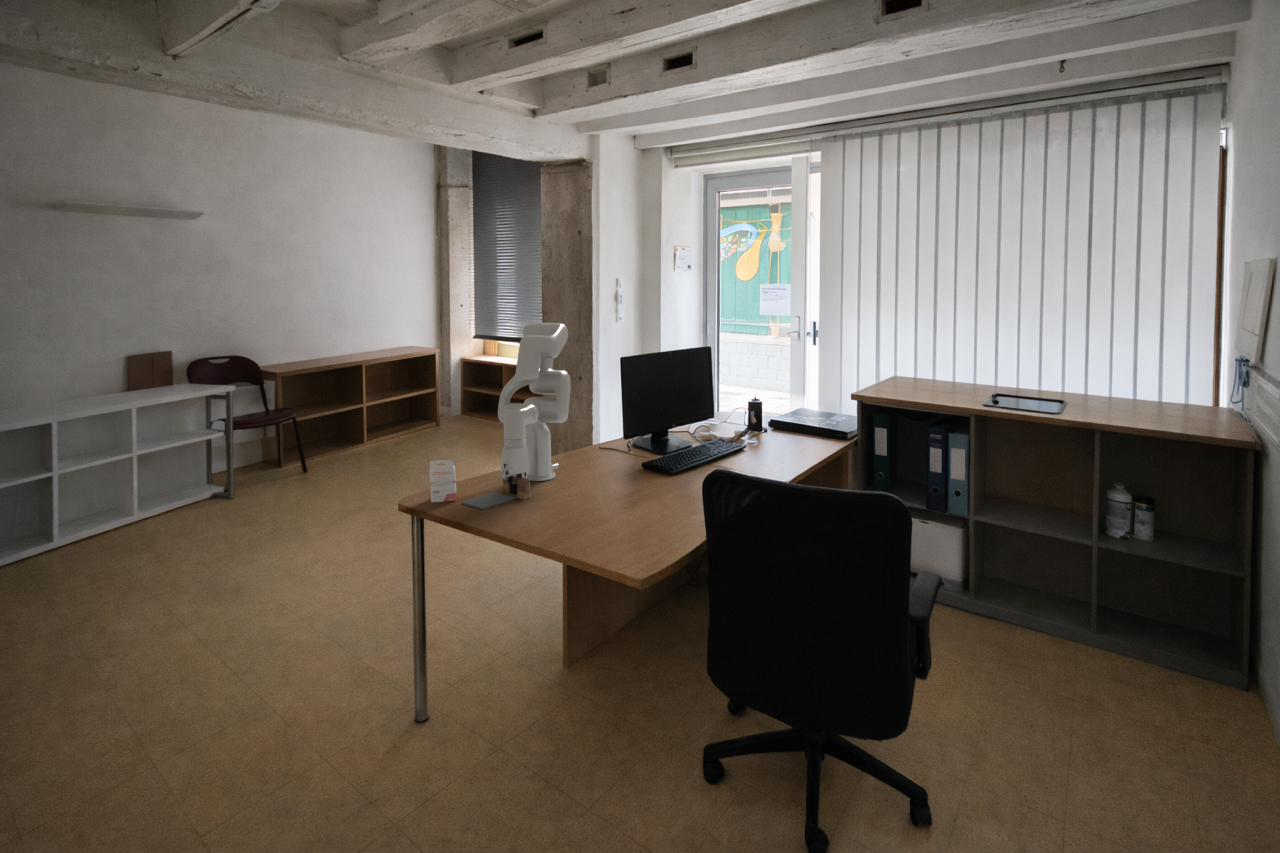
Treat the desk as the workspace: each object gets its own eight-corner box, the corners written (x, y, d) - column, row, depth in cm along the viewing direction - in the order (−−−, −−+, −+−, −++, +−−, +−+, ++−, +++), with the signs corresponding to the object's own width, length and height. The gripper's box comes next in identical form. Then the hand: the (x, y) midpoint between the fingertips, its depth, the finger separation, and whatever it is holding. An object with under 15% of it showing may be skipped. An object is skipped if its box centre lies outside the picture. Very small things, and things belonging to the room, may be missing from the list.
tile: (508, 492, 255) (507, 473, 254) (530, 498, 249) (529, 479, 248) (503, 494, 253) (502, 475, 252) (525, 499, 247) (524, 480, 246)
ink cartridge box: (456, 497, 250) (455, 456, 247) (456, 501, 245) (454, 460, 242) (431, 498, 248) (429, 457, 245) (430, 502, 243) (428, 461, 240)
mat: (493, 493, 254) (493, 491, 254) (515, 498, 248) (515, 497, 248) (461, 503, 242) (461, 502, 242) (483, 509, 236) (483, 508, 236)
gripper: (523, 437, 256) (524, 485, 260) (490, 445, 243) (492, 496, 247) (538, 439, 252) (539, 489, 255) (506, 448, 239) (507, 500, 242)
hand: (516, 492), depth 251 cm, fingers closed on tile, 2 cm apart
